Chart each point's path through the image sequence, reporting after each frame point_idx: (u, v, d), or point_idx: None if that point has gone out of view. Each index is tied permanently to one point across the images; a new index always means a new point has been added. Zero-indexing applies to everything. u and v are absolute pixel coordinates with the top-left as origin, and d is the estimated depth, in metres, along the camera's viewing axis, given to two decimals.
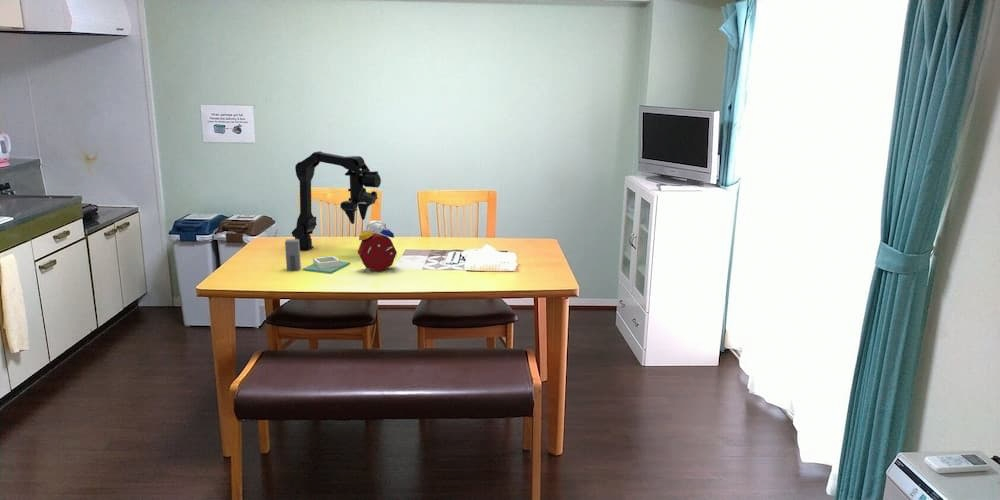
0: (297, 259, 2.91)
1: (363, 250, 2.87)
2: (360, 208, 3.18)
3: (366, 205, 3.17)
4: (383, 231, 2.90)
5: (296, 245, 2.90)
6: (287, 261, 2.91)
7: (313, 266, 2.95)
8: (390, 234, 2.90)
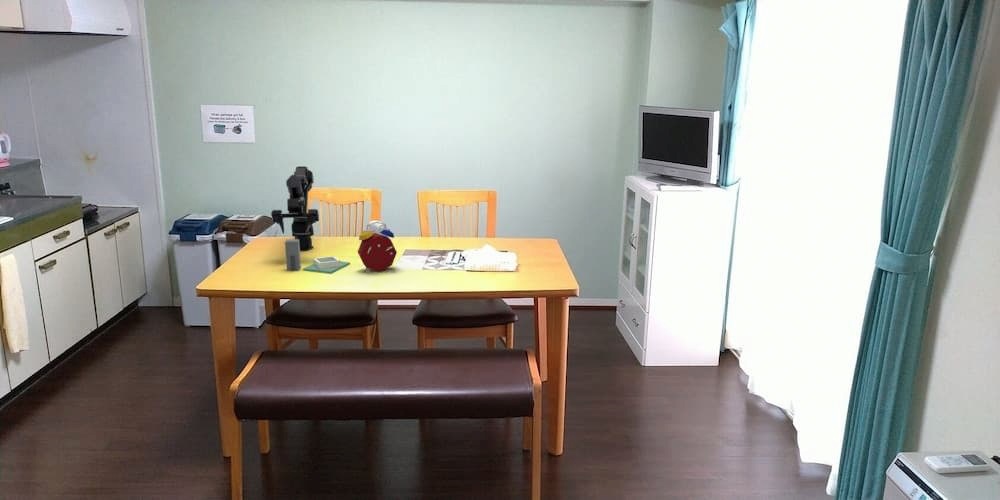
0: (297, 259, 2.91)
1: (363, 250, 2.87)
2: None
3: None
4: (383, 231, 2.90)
5: (296, 245, 2.90)
6: (287, 261, 2.91)
7: (313, 266, 2.95)
8: (390, 234, 2.90)
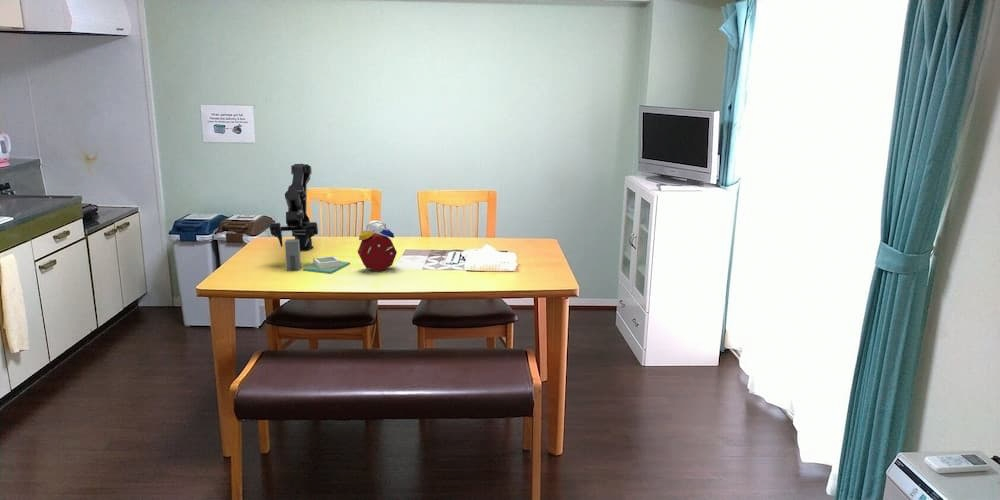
0: (297, 259, 2.91)
1: (363, 250, 2.87)
2: None
3: None
4: (383, 231, 2.90)
5: (296, 245, 2.90)
6: (287, 261, 2.91)
7: (313, 266, 2.95)
8: (390, 234, 2.90)
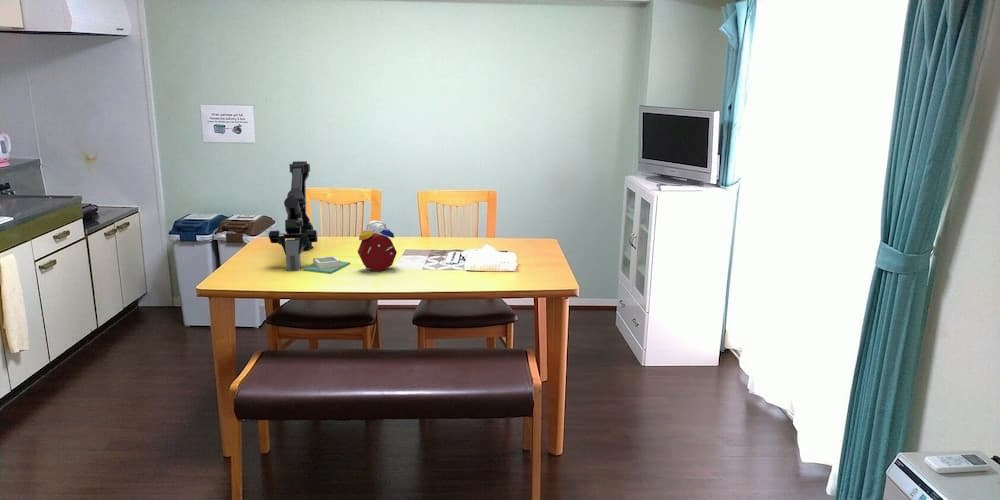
0: (297, 259, 2.91)
1: (363, 250, 2.87)
2: None
3: None
4: (383, 231, 2.90)
5: (296, 245, 2.90)
6: (287, 261, 2.91)
7: (313, 266, 2.95)
8: (390, 234, 2.90)
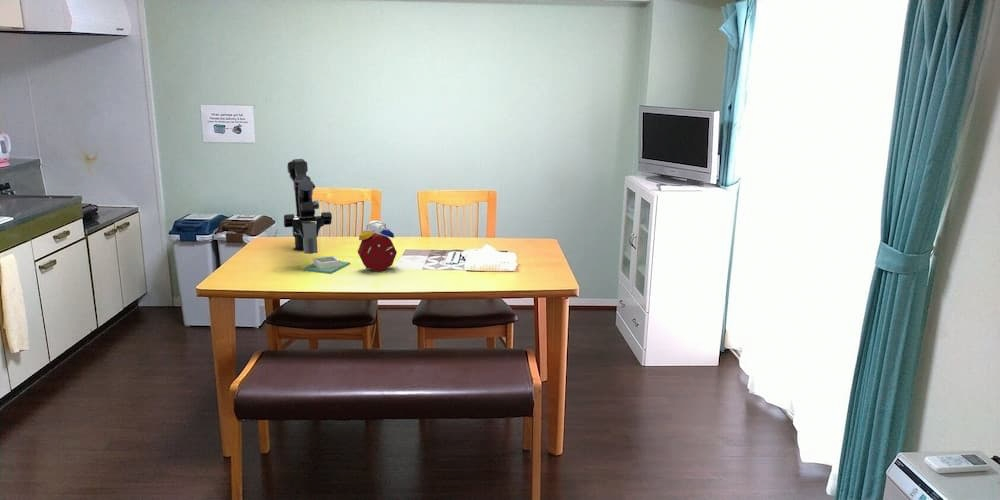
0: (315, 241, 2.91)
1: (363, 250, 2.87)
2: None
3: (316, 221, 2.93)
4: (383, 231, 2.90)
5: (314, 227, 2.90)
6: (305, 244, 2.90)
7: (313, 266, 2.95)
8: (390, 234, 2.90)
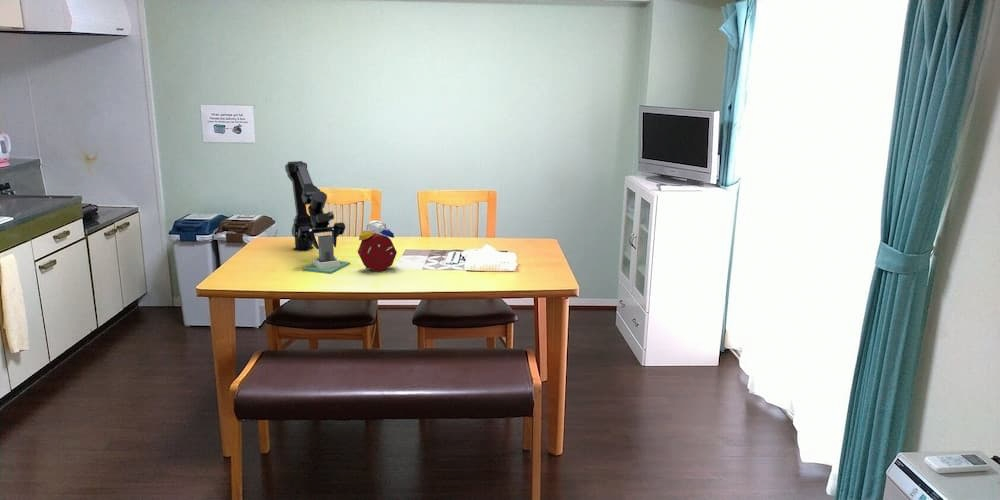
0: (331, 254, 2.95)
1: (363, 250, 2.87)
2: None
3: (333, 231, 2.97)
4: (383, 231, 2.90)
5: (331, 241, 2.94)
6: (322, 257, 2.93)
7: (313, 266, 2.95)
8: (390, 234, 2.90)
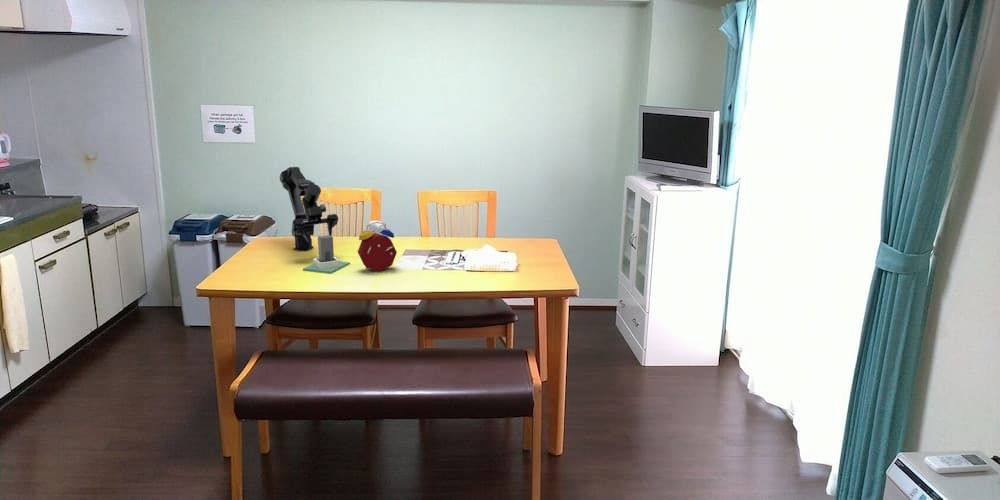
0: (331, 254, 2.95)
1: (363, 250, 2.87)
2: (328, 230, 3.07)
3: (328, 223, 3.05)
4: (383, 231, 2.90)
5: (331, 241, 2.94)
6: (322, 257, 2.93)
7: (313, 266, 2.95)
8: (390, 234, 2.90)
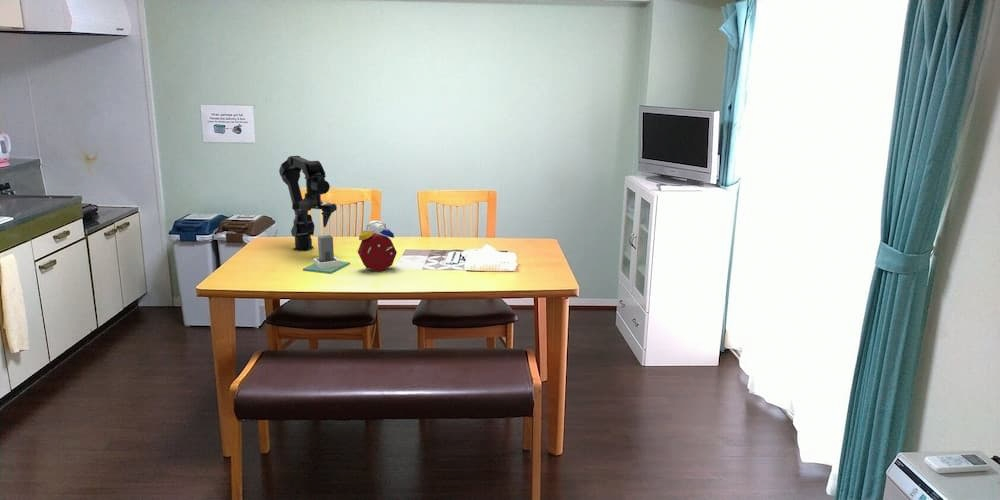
0: (331, 254, 2.95)
1: (363, 250, 2.87)
2: None
3: None
4: (383, 231, 2.90)
5: (331, 241, 2.94)
6: (322, 257, 2.93)
7: (313, 266, 2.95)
8: (390, 234, 2.90)
